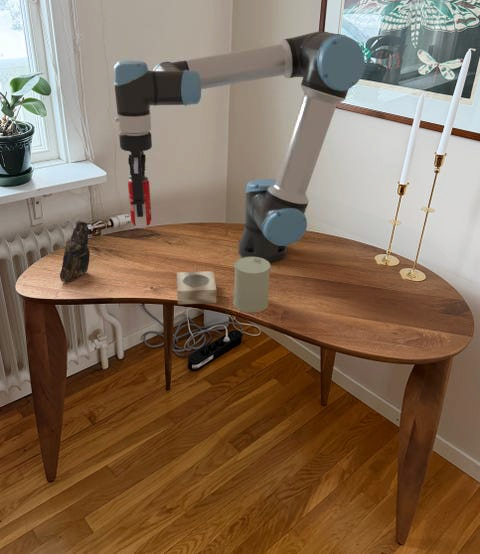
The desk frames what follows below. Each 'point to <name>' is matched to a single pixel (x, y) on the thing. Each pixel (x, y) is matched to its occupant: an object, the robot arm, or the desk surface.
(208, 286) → the base
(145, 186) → the beverage can
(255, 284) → the can
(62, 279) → the statue
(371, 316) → the desk surface
